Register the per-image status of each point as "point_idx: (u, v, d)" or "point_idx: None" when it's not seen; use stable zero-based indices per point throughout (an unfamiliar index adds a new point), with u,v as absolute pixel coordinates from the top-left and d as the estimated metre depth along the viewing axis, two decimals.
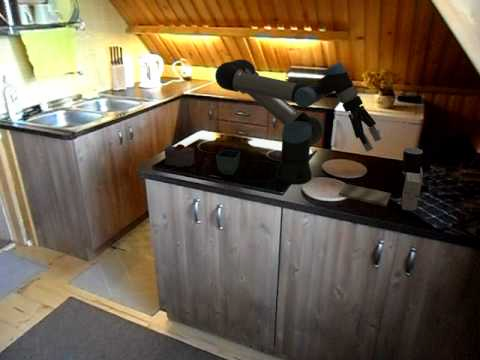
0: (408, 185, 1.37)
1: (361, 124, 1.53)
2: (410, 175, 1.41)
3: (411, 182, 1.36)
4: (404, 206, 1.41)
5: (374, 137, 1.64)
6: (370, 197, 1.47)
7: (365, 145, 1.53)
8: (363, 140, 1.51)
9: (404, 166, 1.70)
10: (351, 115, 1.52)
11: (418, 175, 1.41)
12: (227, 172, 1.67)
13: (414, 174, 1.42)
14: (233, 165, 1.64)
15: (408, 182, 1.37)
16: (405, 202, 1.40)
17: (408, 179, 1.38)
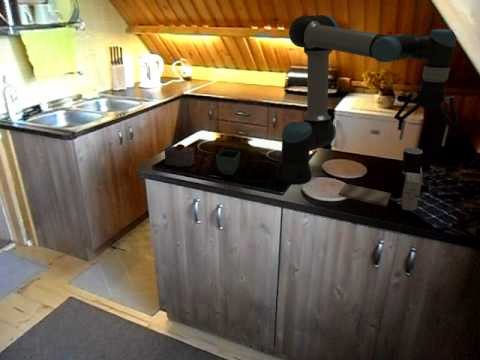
0: (408, 185, 1.37)
1: (411, 111, 1.31)
2: (410, 175, 1.41)
3: (411, 182, 1.36)
4: (404, 206, 1.41)
5: None
6: (370, 197, 1.47)
7: None
8: (398, 125, 1.36)
9: (404, 166, 1.70)
10: None
11: (418, 175, 1.41)
12: (227, 172, 1.67)
13: (414, 174, 1.42)
14: (233, 165, 1.64)
15: (408, 182, 1.37)
16: (405, 202, 1.40)
17: (408, 179, 1.38)
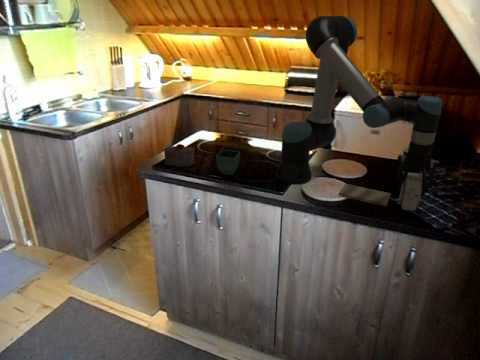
0: (408, 185, 1.37)
1: (405, 172, 1.39)
2: (410, 174, 1.41)
3: (411, 181, 1.36)
4: (404, 206, 1.41)
5: None
6: (370, 197, 1.47)
7: None
8: (398, 186, 1.43)
9: (404, 166, 1.70)
10: None
11: (418, 175, 1.41)
12: (227, 172, 1.67)
13: (414, 174, 1.42)
14: (233, 165, 1.64)
15: (408, 182, 1.37)
16: (405, 202, 1.40)
17: (408, 179, 1.38)
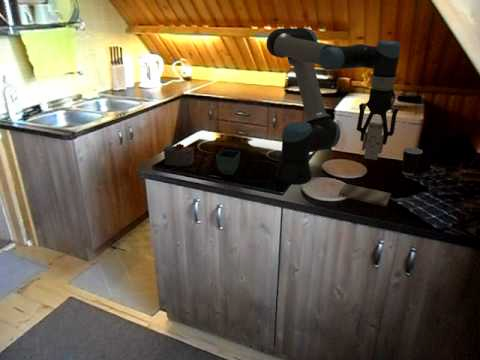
0: (369, 132, 1.37)
1: (367, 120, 1.39)
2: (372, 123, 1.41)
3: (372, 128, 1.36)
4: (366, 155, 1.41)
5: None
6: (370, 197, 1.47)
7: None
8: None
9: (404, 166, 1.70)
10: None
11: (380, 124, 1.41)
12: (227, 172, 1.67)
13: (376, 123, 1.42)
14: (233, 165, 1.64)
15: (369, 129, 1.37)
16: (367, 150, 1.40)
17: (369, 127, 1.38)
